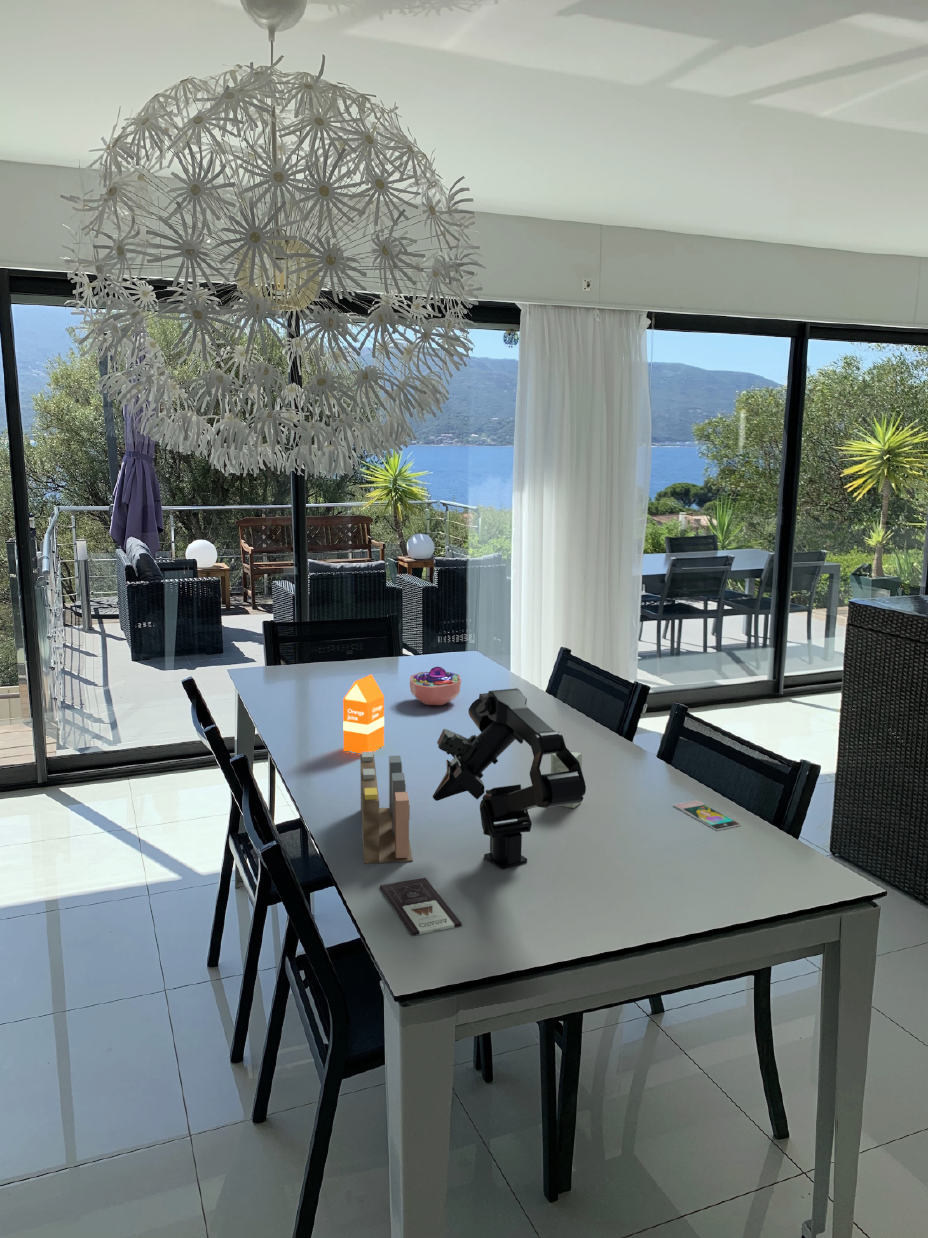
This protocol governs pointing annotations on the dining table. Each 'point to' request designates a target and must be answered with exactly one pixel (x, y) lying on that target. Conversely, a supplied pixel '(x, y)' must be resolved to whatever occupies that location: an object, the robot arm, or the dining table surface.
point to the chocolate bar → (419, 906)
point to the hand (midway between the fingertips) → (434, 798)
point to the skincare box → (564, 768)
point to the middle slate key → (397, 786)
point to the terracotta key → (402, 824)
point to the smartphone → (706, 815)
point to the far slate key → (394, 767)
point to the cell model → (435, 686)
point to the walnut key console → (375, 818)
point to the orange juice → (363, 716)
